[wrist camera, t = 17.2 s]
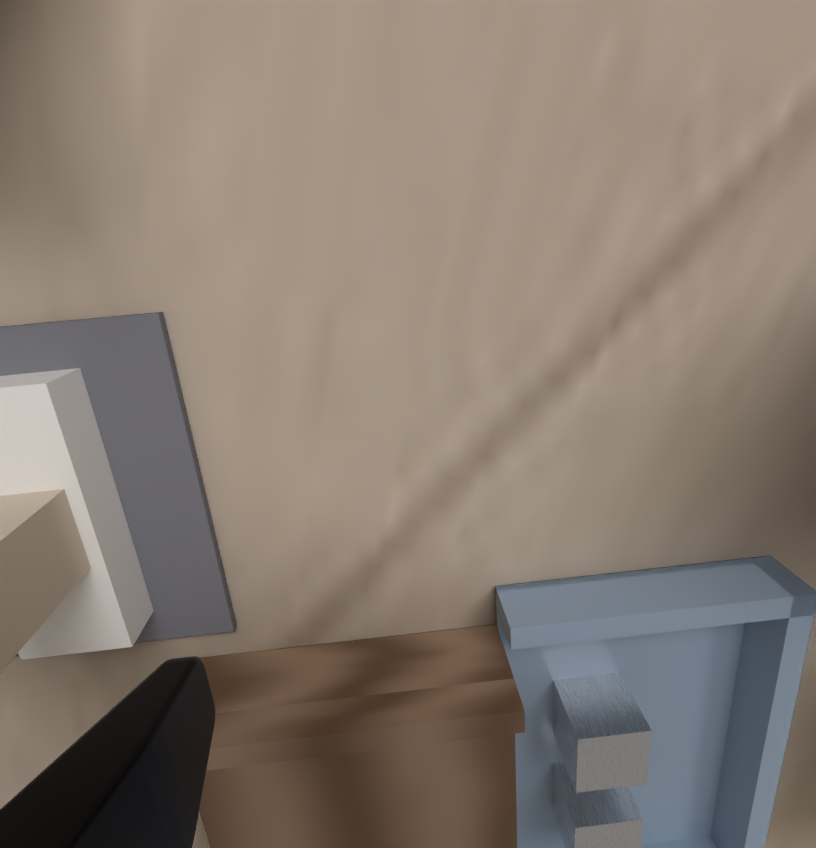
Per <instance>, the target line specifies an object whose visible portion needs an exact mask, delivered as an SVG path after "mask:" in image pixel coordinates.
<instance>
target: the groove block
mask: <svg viewBox="0 0 816 848" xmlns="http://www.w3.org/2000/svg"><path fill="white" fill-rule="evenodd" d="M201 660H202V661H203V663H204V666H205V669H206V673H207V677H208V680H209V684H210V688H211V692H212V695H213V699H214V703H215V725H214V731H213V736H212V742H211V747H210V753H209V758H208V764H207V769H206V775H205V780H204V786H203V791H202V797H201V802H200V808H199V811H200V814H201V817H202V821H203V824H204V827H205V830H206V834H207V837H208V840H209V843H210V847H211V848H517V806H516V754H515V733H524V732H525V711H524V708H523V704H522V701H521V698H520V695H519V692H518V689H517V686H516V683H515V680H514V677H513V674H512V671H511V667H510V664H509V661H508V658H507V655H506V652H505V649H504V646H503V643H502V640H501V637H500V634H499V630H498V627H497V625H488V626H479V627H470V628H461V629H452V630H444V631H435V632H426V633H417V634H408V635H399V636H391V637H382V638H373V639H364V640H355V641H346V642H338V643H329V644H320V645H311V646H302V647H294V648H285V649H276V650H267V651H258V652H249V653H241V654H232V655H223V656H214V657H205V658H201Z"/></svg>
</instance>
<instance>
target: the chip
mask: <svg viewBox="0 0 816 848" xmlns="http://www.w3.org/2000/svg"><path fill="white" fill-rule="evenodd" d="M553 732H554V734H555V737H556V740H557V743H558V745H559V748H560V751H561V753H562V756H563V759H564V762H565V764H566V767H567V770H568V772H569V775H570V778H571V780H572V783H573V786H574V789H575V791H576V793H580V792H587V791H595V790H603V789H611V788H619V787H627V786H635V785H643V784H647V777H648V766H649V756H650V746H651V735H652V730H651V728H650V726H649V724H648V723H647V721H646V719H645V717H644V716H643V714H642V712H641V710H640V709H639V707H638V705H637V703H636V702H635V700H634V698H633V696H632V695H631V693H630V691H629V689H628V688H627V686H626V684H625V682H624V681H623V679H622V677H621V675H620V674H619V672H618V673H609V674H601V675H592V676H584V677H575V678H567V679H558V680H553Z"/></svg>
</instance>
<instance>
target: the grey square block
mask: <svg viewBox="0 0 816 848" xmlns="http://www.w3.org/2000/svg"><path fill="white" fill-rule="evenodd" d="M552 808H553V811H554V814H555V817H556V820H557V824H558V827H559V830H560V833H561V836H562V839H563V842H564V846H565V848H641V840H642V830H643V820H644V819H643V817H642V815H641V813H640V811H639V809H638V807H637V804H636V802H635V800H634V798H633V796H632V794H631V792H630V790H629V787H628V786H627V787H619V788H611V789H603V790H595V791H587V792H580V793H576V791H575V789H574V786H573V783H572V780H571V778H570V775H569V772H568V770H567V767H566V764H565V762H564V761H563V762H555V763H552Z"/></svg>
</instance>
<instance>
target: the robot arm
mask: <svg viewBox="0 0 816 848" xmlns="http://www.w3.org/2000/svg"><path fill="white" fill-rule="evenodd" d="M214 725H215V703H214V699H213V695H212V692H211V688H210V684H209V680H208V677H207V673H206V669H205V666H204V663H203V661H202V660H201V658H199V657H196V656H193V657H184V658H175V659H170V660H167V661H165V662H164V663H163V664H161V665H160V666H159V667H158V668H157V669H156V670H155V671H154V672H152V673H151V674H150V675H149V676H148V677H147V678H146V679H145V680H144V681H142V682H141V683H140V684H139V685H138V686H137V687H136V688H135V689H134V690H132V691H131V692H130V693H129V694H128V695H127V696H126V697H125V698H124V699H122V700H121V701H120V702H119V703H118V704H117V705H116V706H115V707H114V708H112V709H111V710H110V711H109V712H108V713H107V714H106V715H105V716H104V717H103V718H101V719H100V720H99V721H98V722H97V723H96V724H95V725H94V726H93V727H91V728H90V729H89V730H88V731H87V732H86V733H85V734H84V735H83V736H81V737H80V738H79V739H78V740H77V741H76V742H75V743H74V744H73V745H71V746H70V747H69V748H68V749H67V750H66V751H65V752H64V753H63V754H61V755H60V756H59V757H58V758H57V759H56V760H55V761H54V762H53V763H51V764H50V765H49V766H48V767H47V768H46V769H45V770H44V771H43V772H41V773H40V774H39V775H38V776H37V777H36V778H35V779H34V780H33V781H31V782H30V783H29V784H28V785H27V786H26V787H25V788H24V789H23V790H21V791H20V792H19V793H18V794H17V795H16V796H15V797H14V798H13V799H11V800H10V801H9V802H8V803H7V804H6V805H5V806H4V807H3V808H1V809H0V848H192V845H193V840H194V835H195V830H196V824H197V819H198V813H199V808H200V802H201V797H202V791H203V786H204V780H205V775H206V769H207V764H208V758H209V753H210V747H211V742H212V736H213V731H214Z"/></svg>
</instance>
